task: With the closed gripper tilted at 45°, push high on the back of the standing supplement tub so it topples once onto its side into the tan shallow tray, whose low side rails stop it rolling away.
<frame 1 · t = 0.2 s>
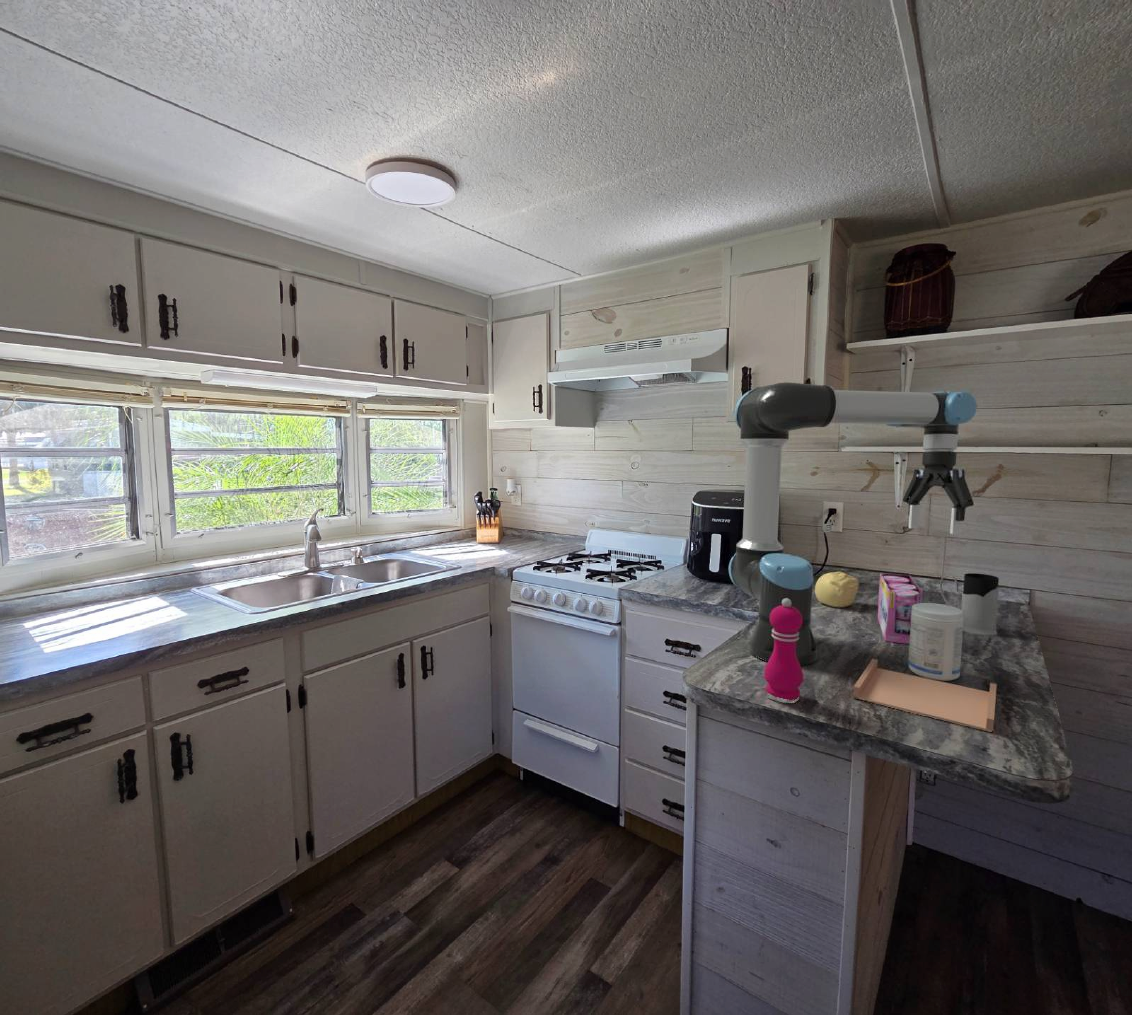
hand: (933, 531, 150), 27 cm above the worktop, tool pointing down, fingers open, 13 cm apart
glass holder: (965, 628, 155), on the worktop
gum box: (896, 631, 153), on the worktop
sculpture: (835, 605, 178), on the worktop
pepper mill: (782, 697, 111), on the worktop
supplement tub: (933, 674, 123), on the worktop
tan shallow tray: (924, 697, 111), on the worktop
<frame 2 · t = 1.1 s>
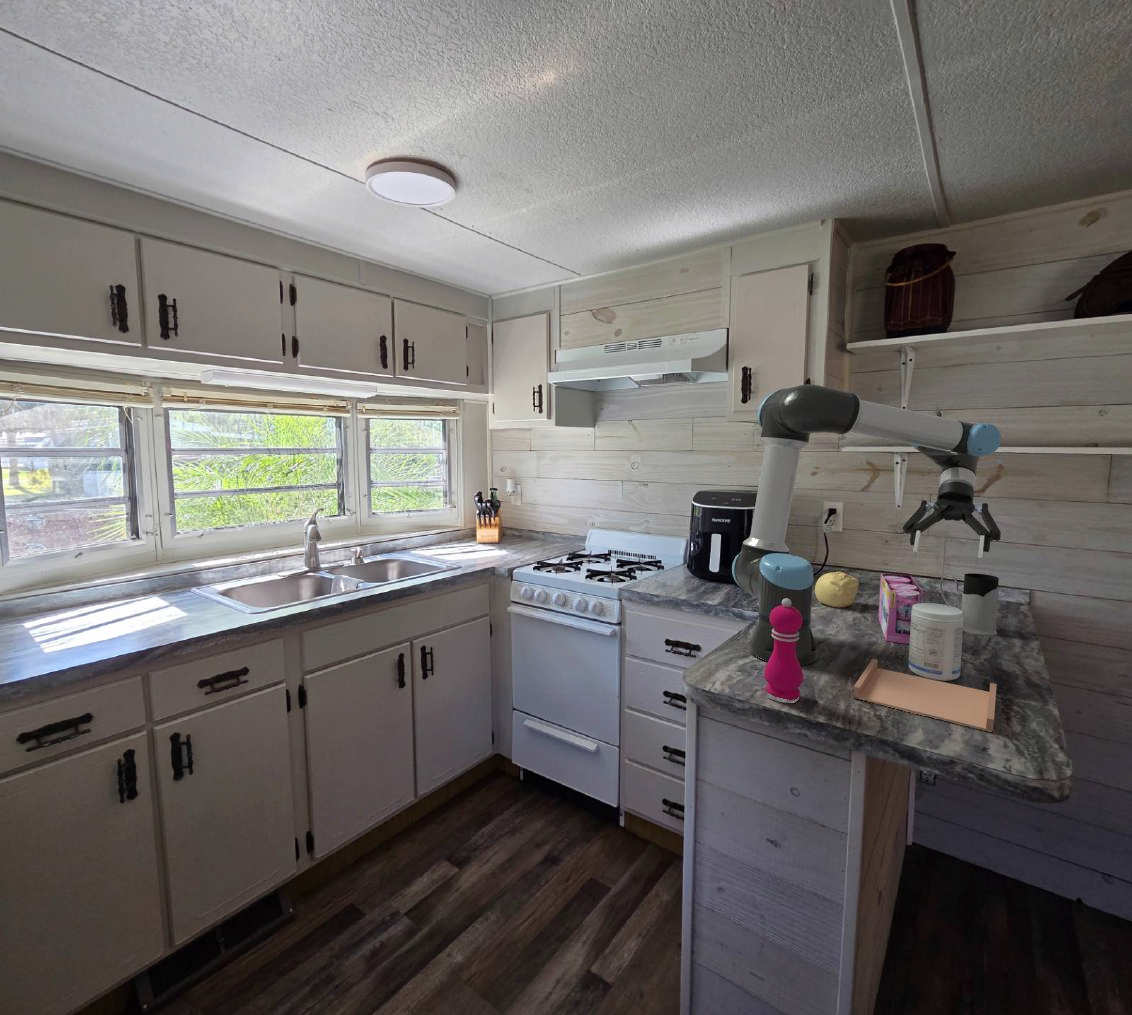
hand: (946, 558, 132), 23 cm above the worktop, tool tilted 45°, fingers open, 12 cm apart
nothing on the worktop moved.
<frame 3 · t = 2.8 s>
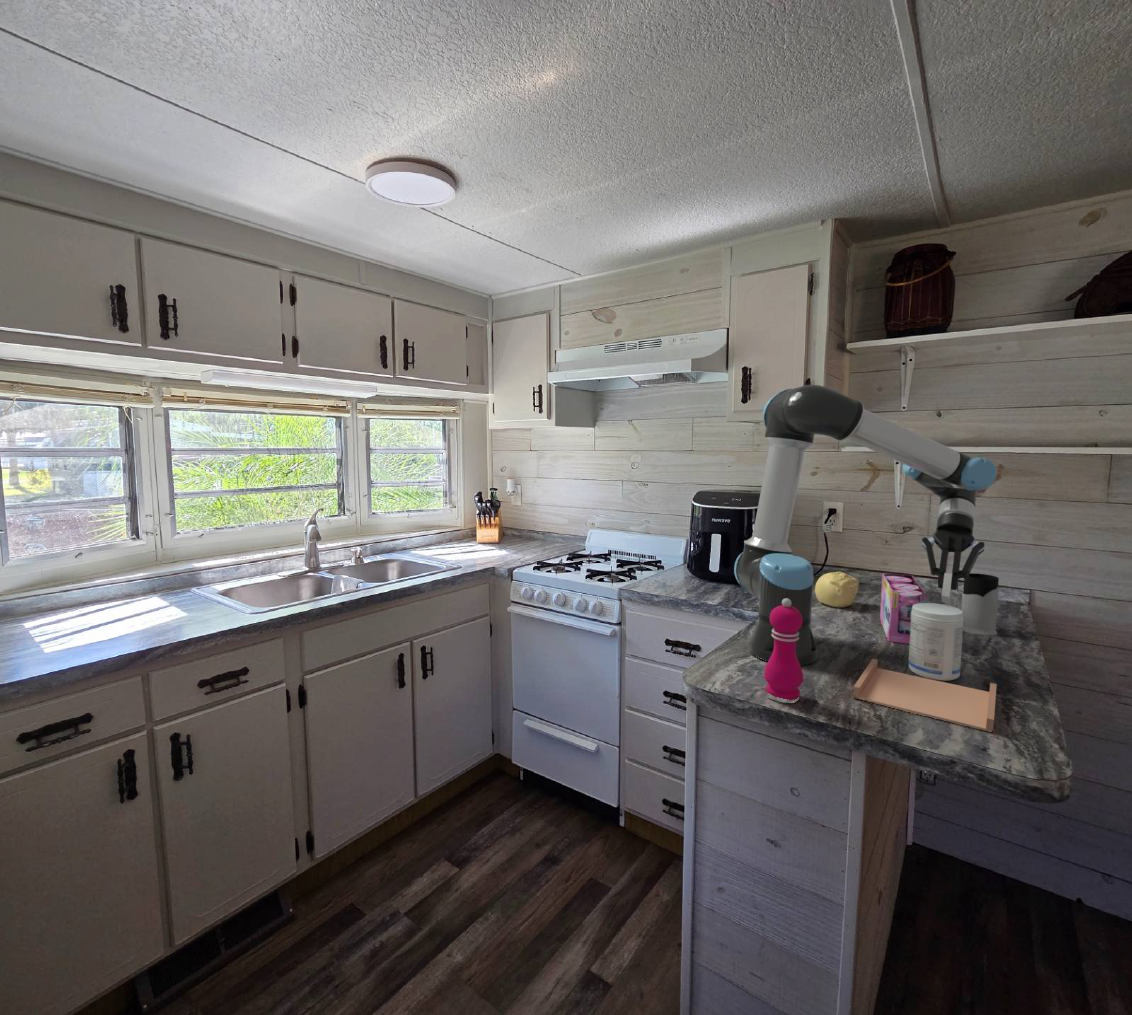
hand: (945, 599, 130), 14 cm above the worktop, tool tilted 45°, fingers closed
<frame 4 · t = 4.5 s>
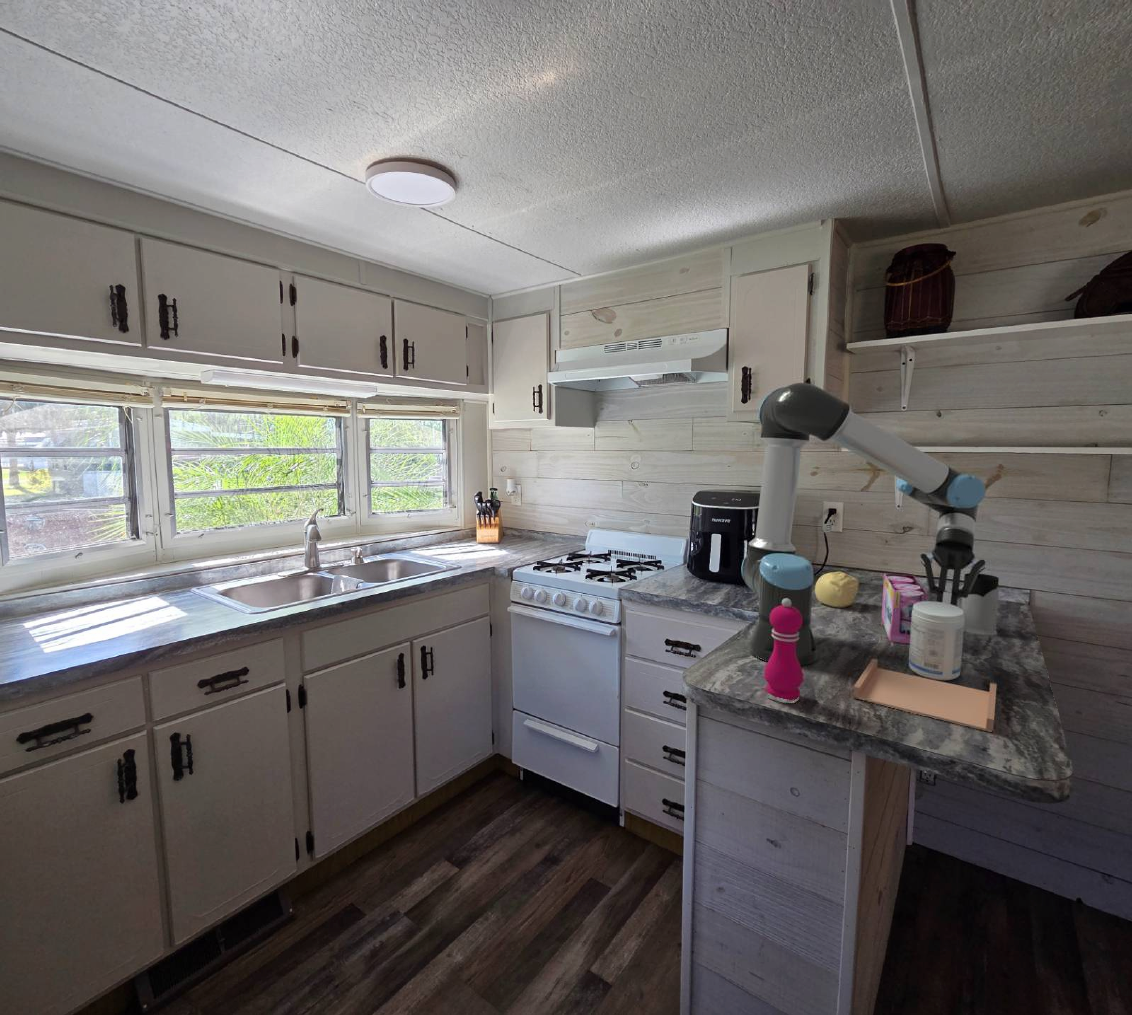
hand: (944, 619, 125), 11 cm above the worktop, tool tilted 45°, fingers closed
supplement tub: (933, 672, 123), on the worktop, touching gripper
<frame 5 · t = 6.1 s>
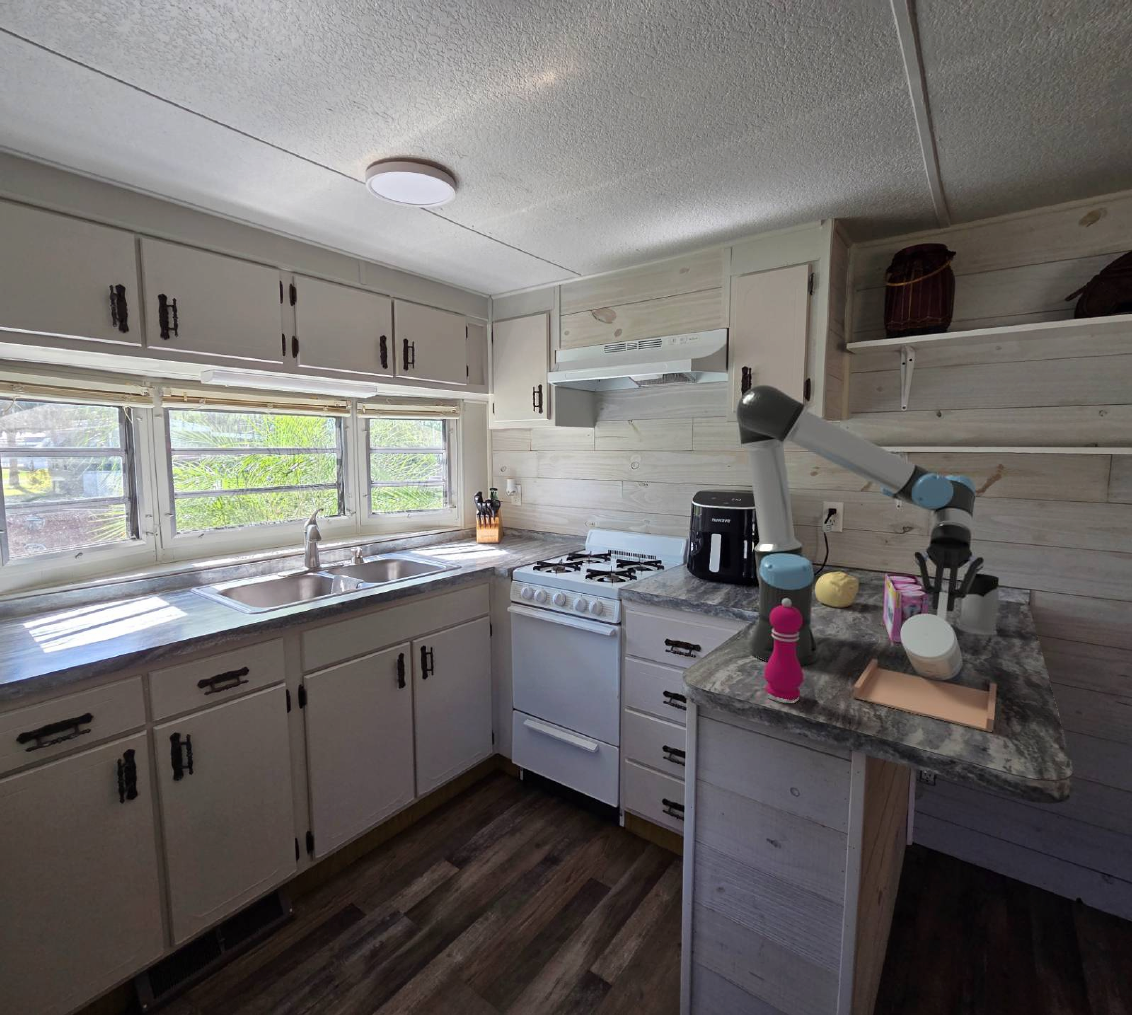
hand: (941, 622, 116), 13 cm above the worktop, tool tilted 45°, fingers closed
supplement tub: (935, 660, 121), point 4 cm above the worktop, touching gripper
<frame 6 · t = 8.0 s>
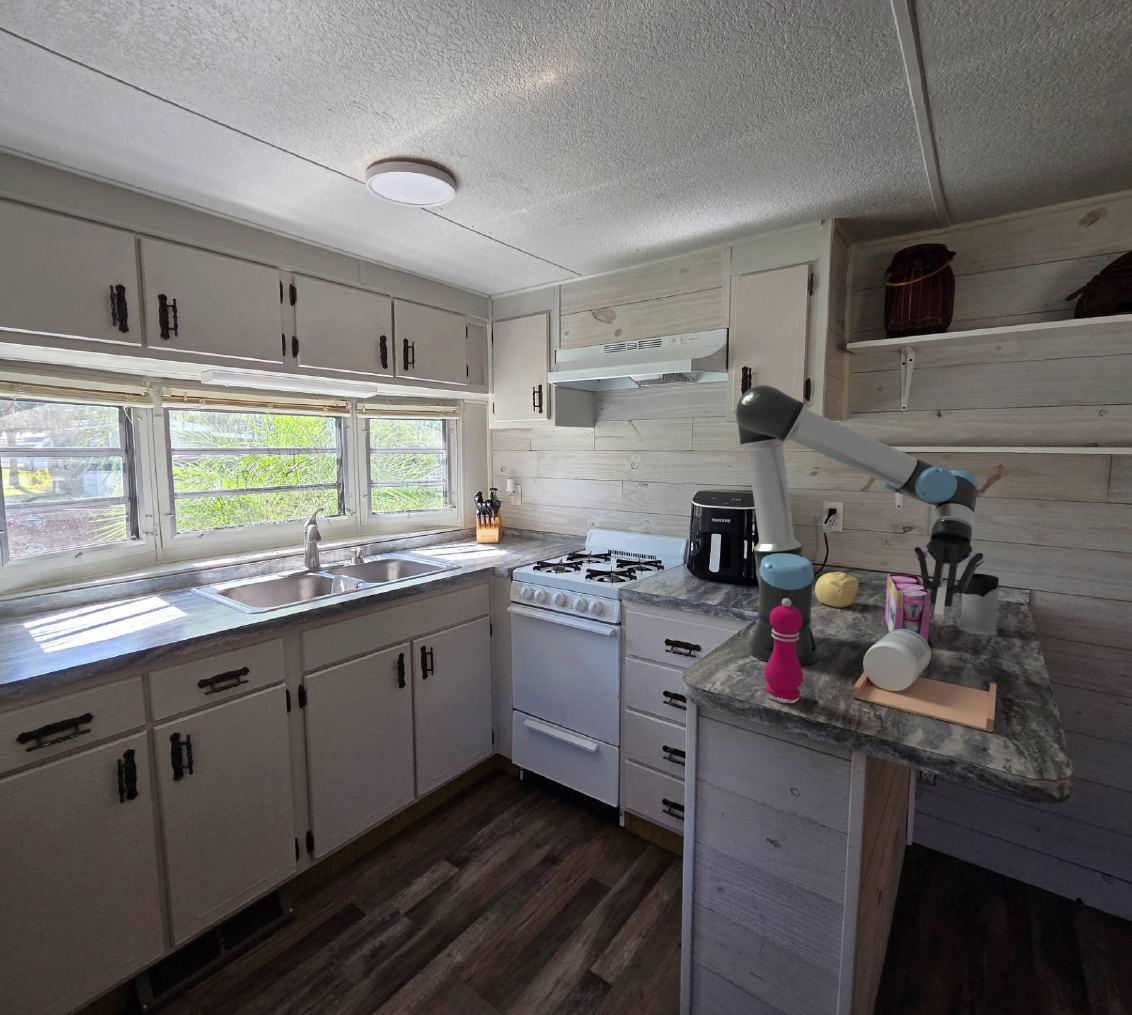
hand: (938, 617, 117), 14 cm above the worktop, tool tilted 45°, fingers closed
supplement tub: (907, 650, 123), point 5 cm above the worktop, touching tan shallow tray
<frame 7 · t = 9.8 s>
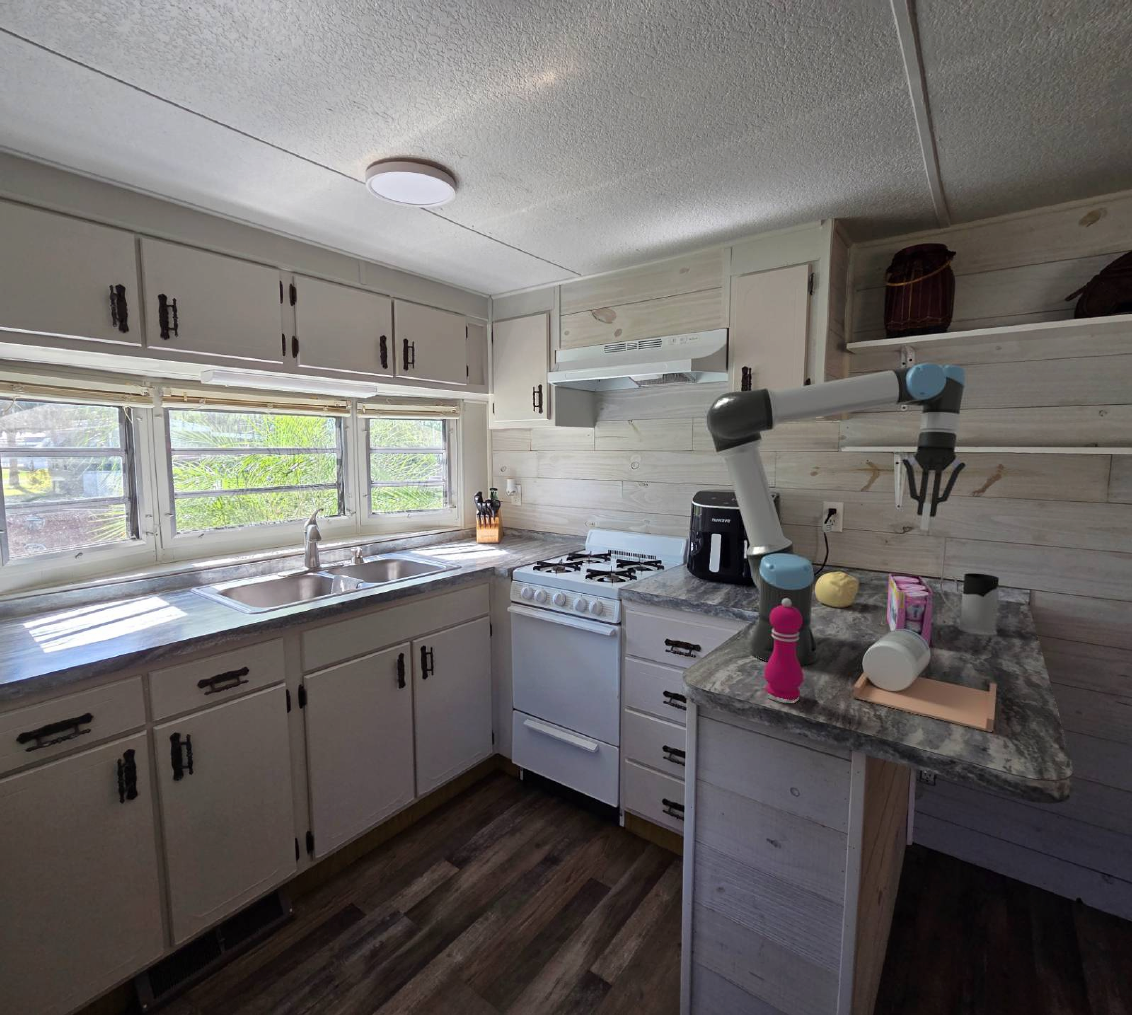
hand: (924, 529, 136), 30 cm above the worktop, tool pointing down, fingers closed
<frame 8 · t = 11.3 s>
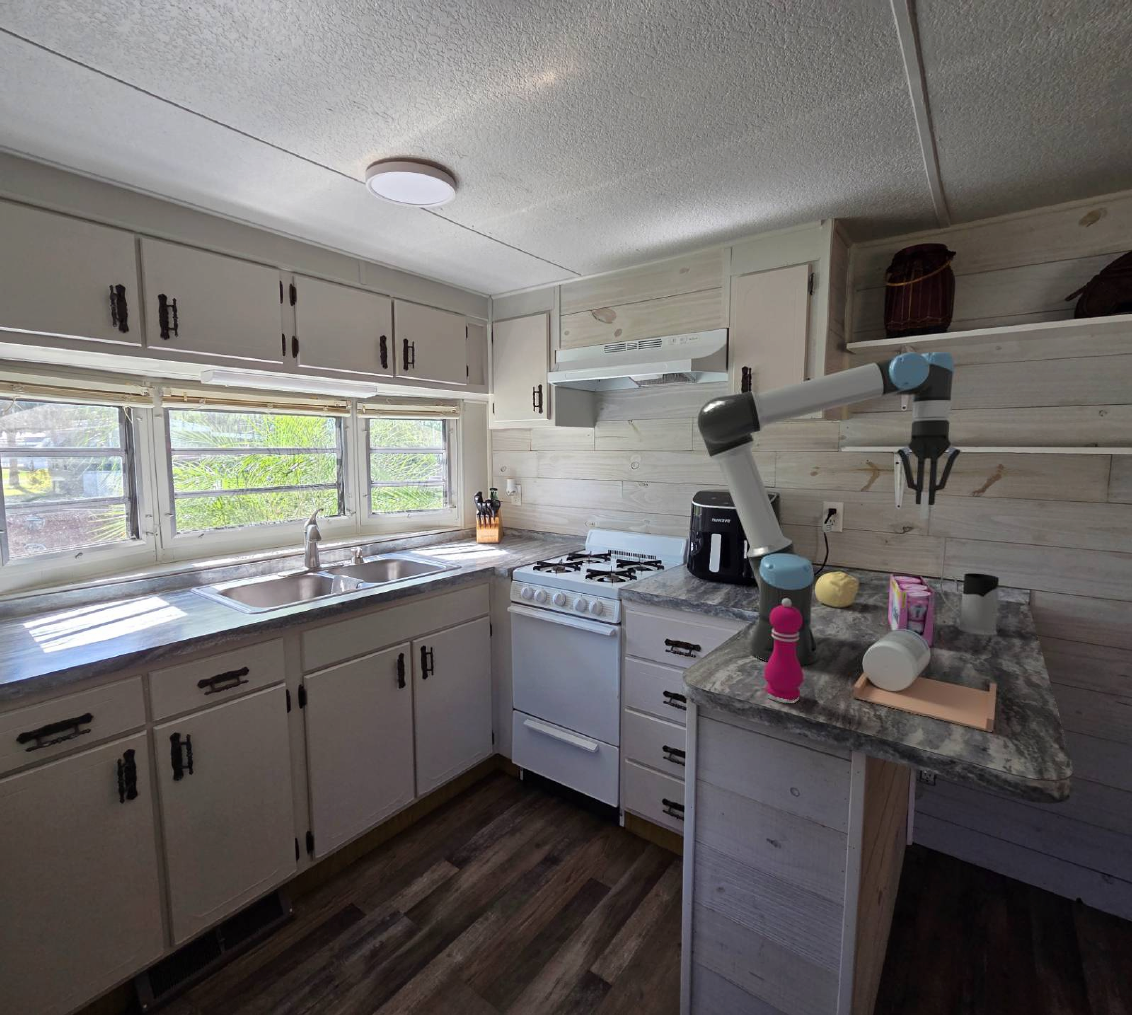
hand: (924, 518, 136), 32 cm above the worktop, tool pointing down, fingers closed
at the end: supplement tub tilted 89°; supplement tub touching tan shallow tray; supplement tub 12.7 cm from the tan shallow tray (horizontally) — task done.
